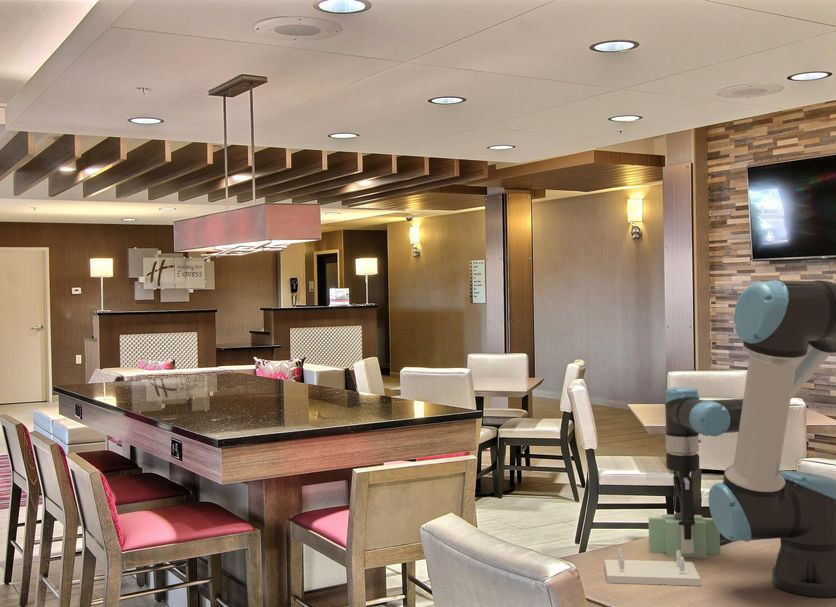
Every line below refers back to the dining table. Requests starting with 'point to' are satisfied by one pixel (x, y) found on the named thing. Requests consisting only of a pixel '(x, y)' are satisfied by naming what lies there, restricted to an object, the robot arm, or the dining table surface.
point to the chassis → (651, 571)
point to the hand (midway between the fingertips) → (684, 546)
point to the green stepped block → (669, 535)
